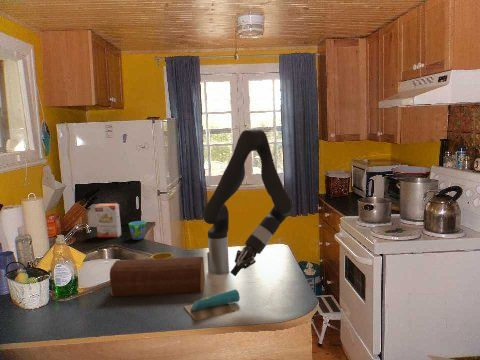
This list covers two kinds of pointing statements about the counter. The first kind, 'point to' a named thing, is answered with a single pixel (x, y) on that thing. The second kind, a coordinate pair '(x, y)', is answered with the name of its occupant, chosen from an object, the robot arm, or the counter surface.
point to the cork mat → (208, 311)
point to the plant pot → (162, 256)
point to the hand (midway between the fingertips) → (232, 274)
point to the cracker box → (108, 220)
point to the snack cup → (137, 229)
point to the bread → (157, 276)
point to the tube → (216, 300)
